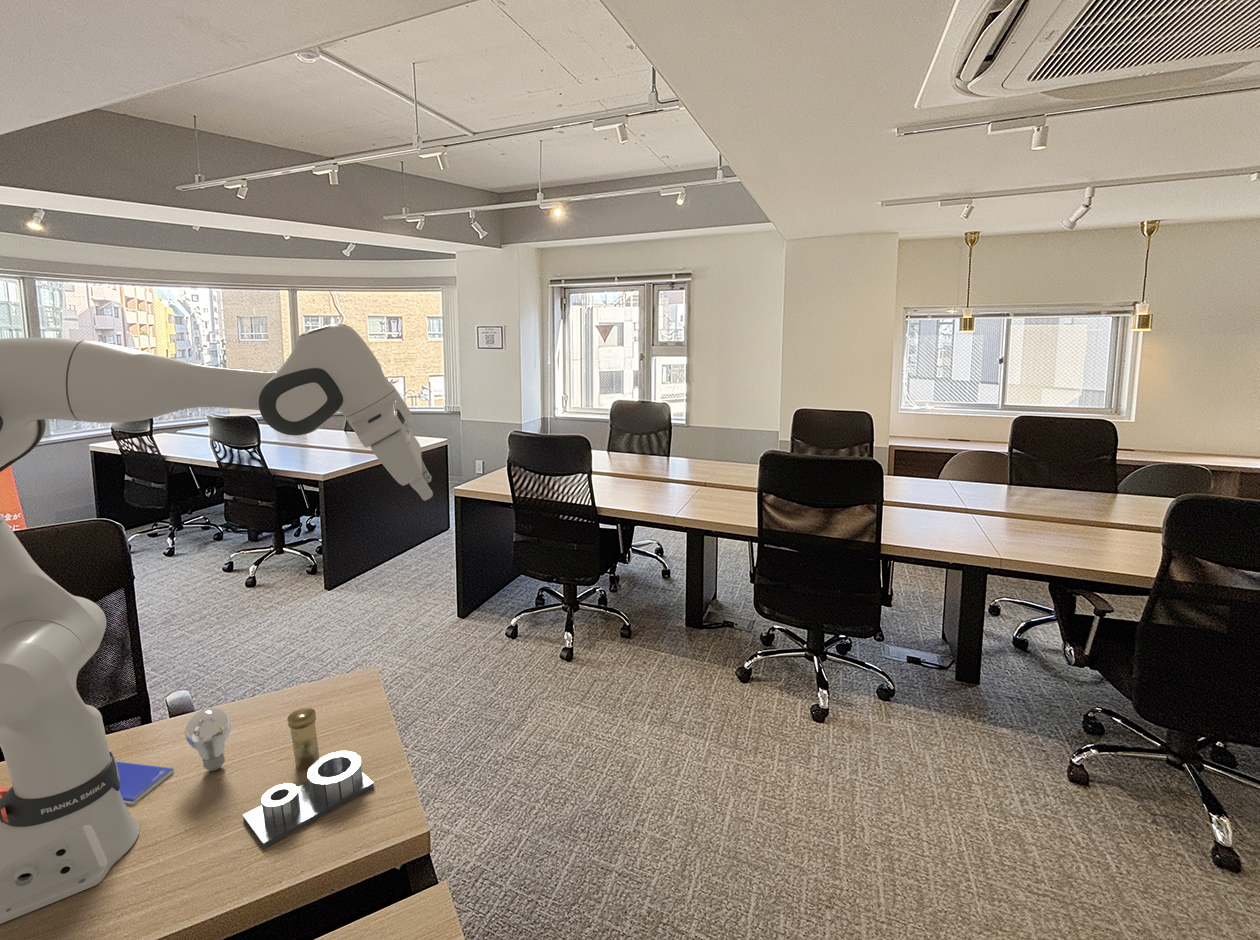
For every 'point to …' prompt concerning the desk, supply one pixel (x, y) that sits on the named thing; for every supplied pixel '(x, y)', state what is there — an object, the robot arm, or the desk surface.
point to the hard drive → (139, 780)
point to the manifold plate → (308, 797)
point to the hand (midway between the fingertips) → (428, 489)
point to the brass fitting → (304, 737)
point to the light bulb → (209, 736)
